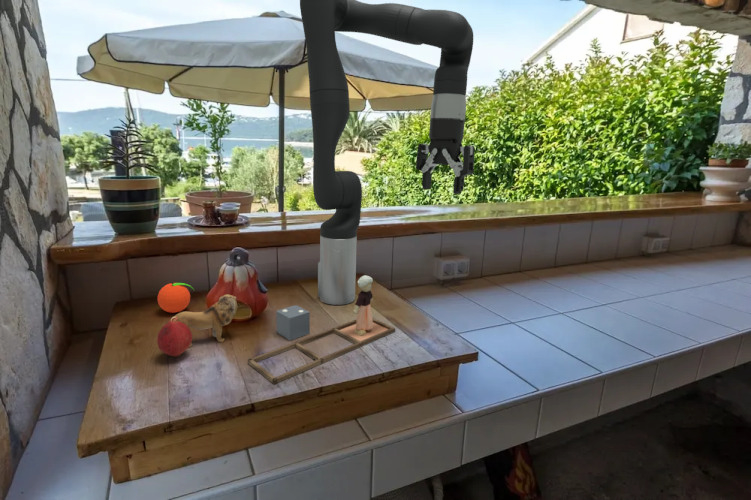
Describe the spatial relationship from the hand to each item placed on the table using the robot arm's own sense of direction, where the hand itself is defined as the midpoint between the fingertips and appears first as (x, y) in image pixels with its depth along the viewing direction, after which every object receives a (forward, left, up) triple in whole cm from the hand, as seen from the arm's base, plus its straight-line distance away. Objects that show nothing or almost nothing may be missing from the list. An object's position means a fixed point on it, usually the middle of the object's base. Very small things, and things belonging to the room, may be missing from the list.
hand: (441, 191), depth 94 cm
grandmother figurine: (-4, -20, -30) cm, 36 cm away
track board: (-4, -30, -30) cm, 43 cm away
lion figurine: (-22, -47, -30) cm, 60 cm away
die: (-13, -32, -30) cm, 46 cm away
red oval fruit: (-19, -54, -30) cm, 65 cm away
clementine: (-40, -46, -30) cm, 68 cm away
